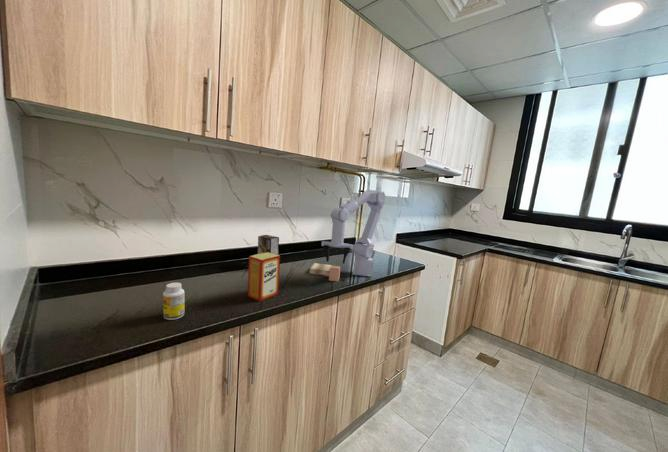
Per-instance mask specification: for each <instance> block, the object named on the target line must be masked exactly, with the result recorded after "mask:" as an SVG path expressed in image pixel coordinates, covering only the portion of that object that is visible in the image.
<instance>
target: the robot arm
mask: <svg viewBox="0 0 668 452" xmlns="http://www.w3.org/2000/svg"><path fill="white" fill-rule="evenodd" d="M386 199H387V197H386V194H385V191H384V190H375V189H374V190H373V189H367V190H365V191H364V192H363V193H362V194H361V195H359V196H358V197H357V198H356V199H354V200H347V201H346V203H344V204H341V205H340V206H339V207H336V208H333V210H332V211H331V213H330V218H331V222H332V229H331V239H330V240H331V241H325V240H322V241H321V247H323V248H322V249H323V251H324V253H325V260H326V262H327V263H328V262H329V261H330V248H340V249H343V258H342V259H343V260H342V264H343V265H344V264H345V263H346V259H347V256H348V254H349V253H350V250H352V252H353V254H354V266H353V270H352V275H353V276H354V275H355V276H363V277H372V272H373V257H372V256H373V254H374V248H375V245H374V243H373V242H372V240H373V236H374V234H375V231H376V229H377V225H378V222H379V219H380V216H381V214H382V210H383V207H384V206H385V202H386ZM365 203H366V204H367V205H368V207H369V208H370V211H369V214H368V218H367V220H366V223H365V226H364V228H363V232H362V234H361V237H358V238H357V239H356V241H355V243H354V244H350V243H345V242H344V241H345V229H346V222H347V220H348V219H349V217H350V216H351V215H352V214H354V213H355V212H357V211H358V208H359V207H360V206H362V205H364V204H365Z"/></svg>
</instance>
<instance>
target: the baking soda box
mask: <svg viewBox="0 0 668 452" xmlns="http://www.w3.org/2000/svg"><path fill="white" fill-rule="evenodd" d="M280 264H281V255H279V254H278V255H277V254H273V253H269V252H267V253H262V254H258V253H257V254H256V253H255V254H253V255H250V256H248V278H247V279H248V282H247V297H248V298H251V299H252V300H255V301H257V302H262V301H264V300H266V299H269V298H271V297H273V296H276V295H278V294H279V286H280V283H279V282H280Z"/></svg>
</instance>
